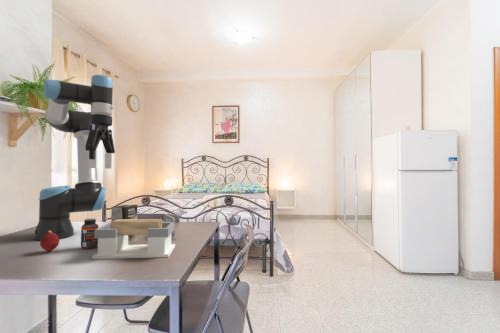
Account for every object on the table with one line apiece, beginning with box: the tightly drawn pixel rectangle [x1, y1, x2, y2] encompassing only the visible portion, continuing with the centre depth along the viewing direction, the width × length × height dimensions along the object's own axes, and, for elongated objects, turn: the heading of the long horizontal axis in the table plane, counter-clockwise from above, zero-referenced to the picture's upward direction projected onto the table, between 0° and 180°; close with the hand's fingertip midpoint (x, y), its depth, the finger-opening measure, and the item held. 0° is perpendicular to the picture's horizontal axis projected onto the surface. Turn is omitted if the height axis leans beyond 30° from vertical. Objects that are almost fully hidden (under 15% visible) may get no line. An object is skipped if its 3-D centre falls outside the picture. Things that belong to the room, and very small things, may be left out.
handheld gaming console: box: [163, 214, 177, 241], centre depth 125 cm, size 13×9×10 cm
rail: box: [110, 218, 163, 236], centre depth 104 cm, size 5×17×5 cm, turn 95°
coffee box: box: [110, 204, 138, 245], centre depth 115 cm, size 9×6×16 cm
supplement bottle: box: [80, 218, 99, 250], centre depth 110 cm, size 6×6×11 cm
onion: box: [39, 231, 60, 253], centre depth 103 cm, size 6×6×8 cm
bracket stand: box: [91, 221, 176, 260], centre depth 103 cm, size 14×26×10 cm, turn 95°
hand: (101, 168), depth 108 cm, fingers open, 13 cm apart
